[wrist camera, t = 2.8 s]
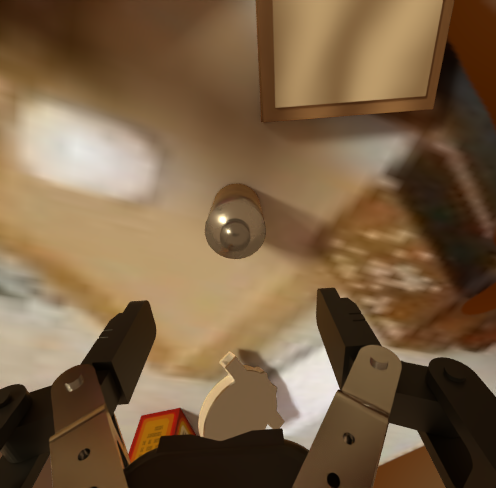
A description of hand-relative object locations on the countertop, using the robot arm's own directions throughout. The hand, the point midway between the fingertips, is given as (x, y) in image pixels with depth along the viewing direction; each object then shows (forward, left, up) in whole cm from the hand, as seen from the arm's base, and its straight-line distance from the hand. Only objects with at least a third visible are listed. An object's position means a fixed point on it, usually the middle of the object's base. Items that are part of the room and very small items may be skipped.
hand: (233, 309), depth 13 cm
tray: (+10, +15, -17) cm, 25 cm away
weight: (0, 0, -17) cm, 17 cm away
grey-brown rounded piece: (-2, -27, -17) cm, 32 cm away
